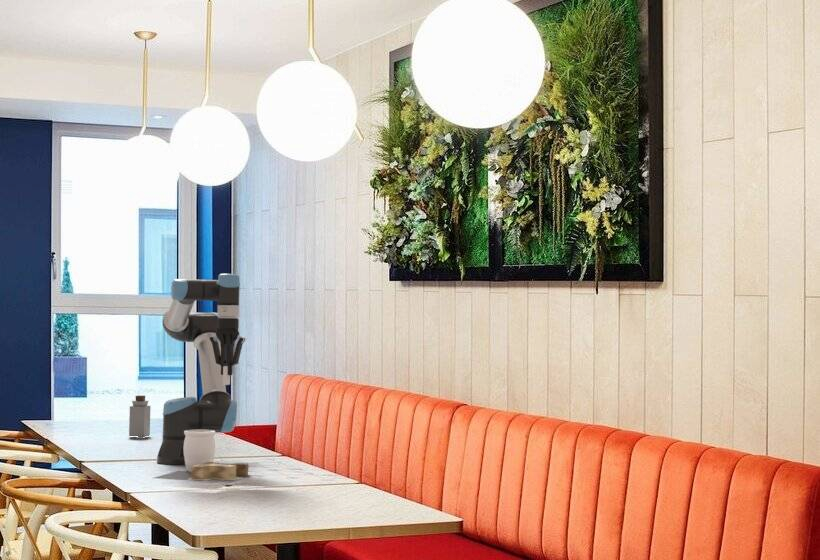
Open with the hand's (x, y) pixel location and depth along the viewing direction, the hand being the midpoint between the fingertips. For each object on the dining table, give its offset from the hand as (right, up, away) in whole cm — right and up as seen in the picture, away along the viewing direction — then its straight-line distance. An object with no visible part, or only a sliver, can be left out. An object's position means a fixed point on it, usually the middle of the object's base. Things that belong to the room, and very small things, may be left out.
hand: (226, 384), depth 392 cm
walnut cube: (+9, -28, -26) cm, 39 cm away
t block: (+2, -27, -31) cm, 41 cm away
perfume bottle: (-53, -32, +92) cm, 110 cm away
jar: (-7, -29, -15) cm, 34 cm away
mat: (-3, -28, -29) cm, 41 cm away
